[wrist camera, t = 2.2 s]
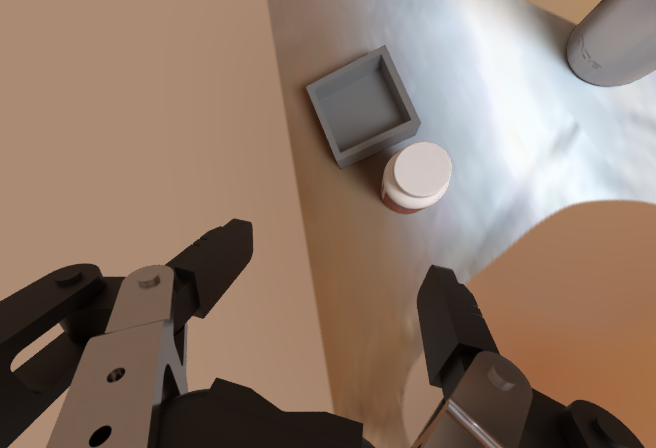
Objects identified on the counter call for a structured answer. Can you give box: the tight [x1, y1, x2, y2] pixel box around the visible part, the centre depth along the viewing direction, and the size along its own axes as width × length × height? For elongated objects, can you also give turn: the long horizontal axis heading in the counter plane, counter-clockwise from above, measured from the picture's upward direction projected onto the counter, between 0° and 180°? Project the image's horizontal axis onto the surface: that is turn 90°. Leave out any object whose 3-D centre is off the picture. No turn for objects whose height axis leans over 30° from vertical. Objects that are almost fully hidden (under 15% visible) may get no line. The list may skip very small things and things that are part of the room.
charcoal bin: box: [306, 45, 421, 169], centre depth 30 cm, size 11×11×4 cm
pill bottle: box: [381, 142, 452, 214], centre depth 25 cm, size 6×6×11 cm
